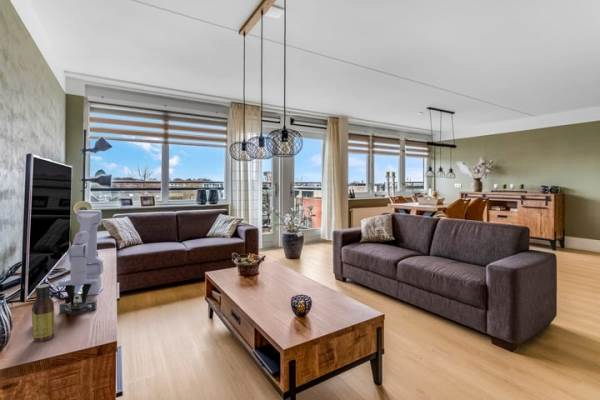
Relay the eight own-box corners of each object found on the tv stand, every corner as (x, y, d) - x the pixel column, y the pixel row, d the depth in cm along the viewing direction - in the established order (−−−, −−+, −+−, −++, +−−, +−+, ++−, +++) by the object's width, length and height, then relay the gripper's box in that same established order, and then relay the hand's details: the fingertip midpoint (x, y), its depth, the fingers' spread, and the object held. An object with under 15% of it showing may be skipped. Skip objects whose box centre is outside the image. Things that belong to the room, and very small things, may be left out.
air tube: (75, 307, 137) (74, 291, 137) (85, 306, 138) (85, 291, 138) (71, 310, 133) (71, 294, 133) (82, 309, 134) (82, 294, 134)
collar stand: (63, 309, 137) (63, 299, 137) (98, 306, 141) (98, 297, 141) (56, 316, 130) (56, 306, 130) (93, 312, 134) (93, 303, 134)
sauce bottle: (41, 334, 114) (41, 282, 113) (59, 334, 115) (59, 282, 114) (27, 343, 108) (27, 288, 107) (45, 343, 108) (45, 288, 107)
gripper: (54, 274, 129) (54, 306, 129) (94, 272, 134) (94, 303, 134) (61, 270, 135) (61, 300, 136) (99, 268, 140) (99, 297, 141)
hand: (78, 301), depth 135 cm, fingers closed on air tube, 4 cm apart
